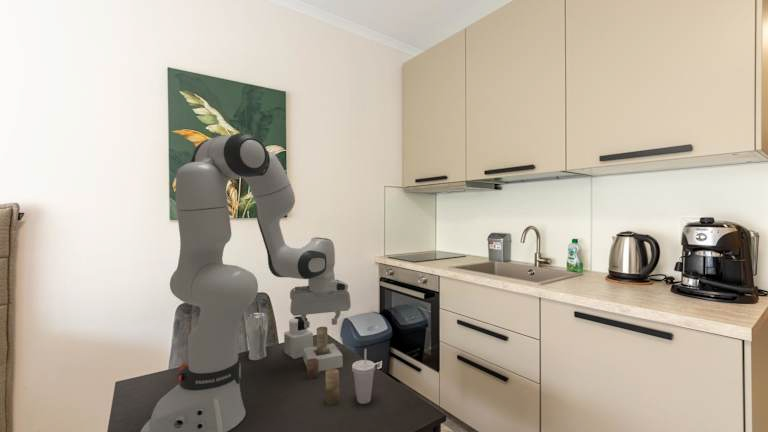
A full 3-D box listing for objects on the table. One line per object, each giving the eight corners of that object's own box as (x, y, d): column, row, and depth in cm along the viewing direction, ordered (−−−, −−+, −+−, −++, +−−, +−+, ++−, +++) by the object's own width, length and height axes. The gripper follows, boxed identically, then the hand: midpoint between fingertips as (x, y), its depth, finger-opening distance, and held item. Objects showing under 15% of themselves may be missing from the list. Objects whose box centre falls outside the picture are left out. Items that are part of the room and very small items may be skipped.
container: (302, 347, 128) (302, 313, 128) (313, 353, 123) (313, 318, 123) (284, 353, 123) (283, 317, 123) (294, 359, 117) (293, 322, 117)
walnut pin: (308, 380, 103) (308, 364, 103) (305, 375, 106) (305, 359, 106) (319, 378, 104) (319, 362, 104) (317, 373, 107) (317, 357, 107)
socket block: (309, 373, 107) (309, 361, 107) (303, 359, 117) (303, 348, 117) (342, 366, 112) (342, 354, 112) (333, 354, 122) (333, 343, 122)
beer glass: (255, 362, 115) (254, 319, 115) (243, 358, 119) (242, 316, 119) (271, 355, 121) (271, 314, 121) (259, 351, 125) (259, 311, 125)
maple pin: (318, 366, 112) (318, 330, 112) (315, 362, 115) (315, 327, 115) (328, 364, 113) (328, 329, 113) (326, 360, 117) (325, 326, 117)
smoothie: (372, 407, 88) (372, 354, 88) (349, 405, 89) (348, 353, 89) (377, 394, 94) (377, 345, 94) (355, 392, 95) (355, 343, 95)
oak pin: (327, 406, 89) (327, 376, 89) (324, 399, 92) (324, 370, 92) (340, 403, 90) (340, 373, 90) (336, 396, 94) (336, 368, 94)
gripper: (291, 288, 107) (290, 332, 107) (352, 284, 115) (351, 325, 115) (288, 285, 113) (288, 326, 112) (346, 281, 121) (346, 320, 121)
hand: (320, 325), depth 114 cm, fingers open, 8 cm apart
